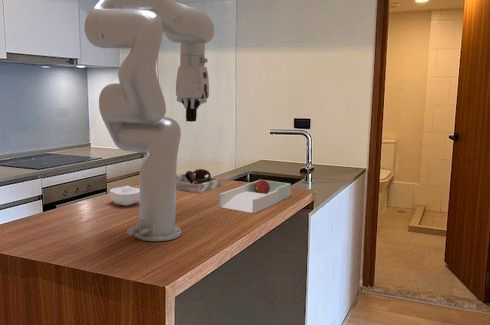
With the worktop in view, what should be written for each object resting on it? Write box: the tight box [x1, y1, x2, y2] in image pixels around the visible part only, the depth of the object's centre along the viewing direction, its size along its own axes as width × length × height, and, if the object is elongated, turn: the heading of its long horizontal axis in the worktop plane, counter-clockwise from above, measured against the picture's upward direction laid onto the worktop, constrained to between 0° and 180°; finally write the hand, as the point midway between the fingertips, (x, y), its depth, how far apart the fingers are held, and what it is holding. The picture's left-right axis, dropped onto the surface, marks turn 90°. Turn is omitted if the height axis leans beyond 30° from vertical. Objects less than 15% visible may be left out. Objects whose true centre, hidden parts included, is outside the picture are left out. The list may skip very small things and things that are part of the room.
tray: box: [244, 179, 292, 203], centre depth 174 cm, size 12×13×5 cm
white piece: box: [218, 185, 279, 214], centre depth 161 cm, size 18×14×6 cm
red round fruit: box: [254, 179, 270, 194], centre depth 174 cm, size 6×6×8 cm
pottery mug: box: [184, 168, 212, 185], centre depth 189 cm, size 12×10×8 cm
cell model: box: [109, 185, 140, 207], centre depth 155 cm, size 10×12×7 cm
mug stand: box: [176, 173, 222, 194], centre depth 188 cm, size 17×19×3 cm
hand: (191, 121), depth 146 cm, fingers closed
